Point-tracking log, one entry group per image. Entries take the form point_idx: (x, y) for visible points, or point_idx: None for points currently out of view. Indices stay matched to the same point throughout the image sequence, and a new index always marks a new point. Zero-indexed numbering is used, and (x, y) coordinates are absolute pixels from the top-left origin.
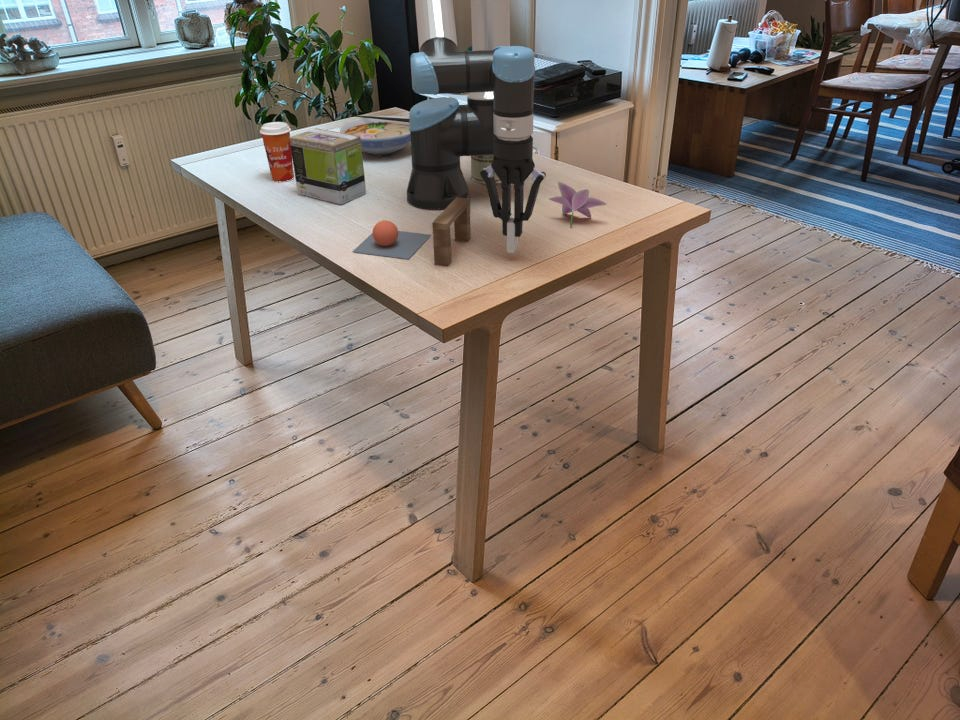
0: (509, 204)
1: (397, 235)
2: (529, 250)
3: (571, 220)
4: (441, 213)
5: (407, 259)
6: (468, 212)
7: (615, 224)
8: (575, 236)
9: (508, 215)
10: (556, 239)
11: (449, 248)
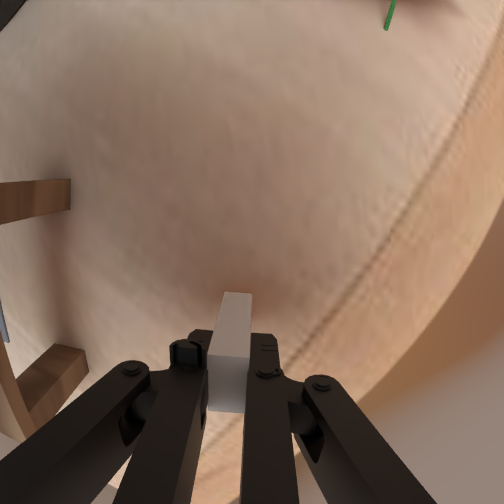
0: (194, 445)
1: None
2: (286, 225)
3: (392, 9)
4: None
5: (7, 341)
6: (4, 205)
7: (478, 19)
8: (415, 87)
9: (201, 402)
10: (363, 114)
11: (65, 385)
